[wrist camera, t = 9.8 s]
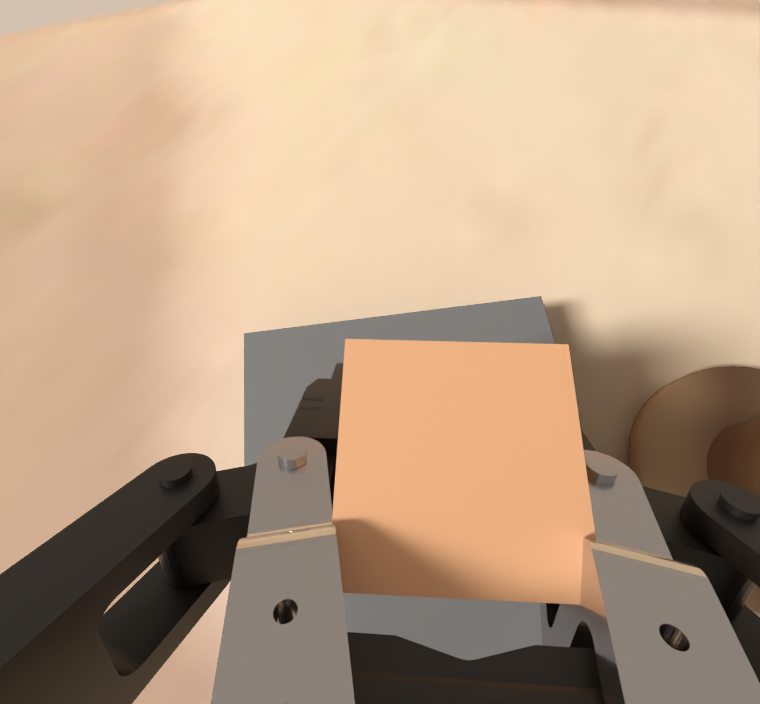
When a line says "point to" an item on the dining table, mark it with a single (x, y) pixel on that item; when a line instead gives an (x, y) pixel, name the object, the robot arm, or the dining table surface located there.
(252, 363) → the block with square hole
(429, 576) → the orange rectangular block
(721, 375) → the bobbin
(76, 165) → the dining table surface
